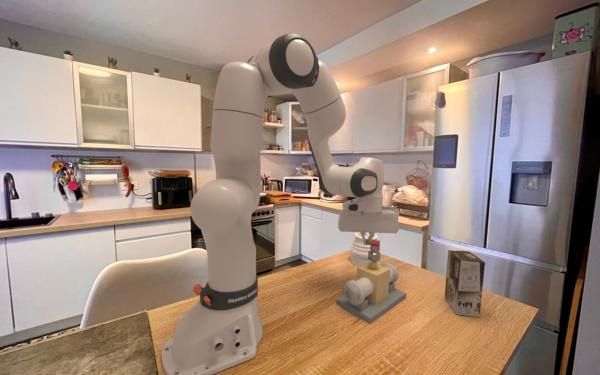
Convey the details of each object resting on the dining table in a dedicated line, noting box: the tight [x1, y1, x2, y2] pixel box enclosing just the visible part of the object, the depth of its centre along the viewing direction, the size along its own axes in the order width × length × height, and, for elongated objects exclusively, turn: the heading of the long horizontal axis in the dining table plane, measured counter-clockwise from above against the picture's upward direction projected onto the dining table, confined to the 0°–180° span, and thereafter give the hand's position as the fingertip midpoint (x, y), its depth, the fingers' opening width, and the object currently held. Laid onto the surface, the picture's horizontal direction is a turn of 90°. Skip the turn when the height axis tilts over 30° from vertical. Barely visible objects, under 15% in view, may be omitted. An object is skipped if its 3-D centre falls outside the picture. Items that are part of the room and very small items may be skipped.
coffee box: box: [444, 249, 486, 318], centre depth 72 cm, size 9×6×16 cm
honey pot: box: [349, 232, 382, 267], centre depth 105 cm, size 13×13×18 cm
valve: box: [335, 261, 407, 325], centre depth 75 cm, size 20×12×13 cm, turn 130°
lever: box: [368, 239, 381, 261], centre depth 79 cm, size 14×4×2 cm, turn 161°
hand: (366, 244), depth 84 cm, fingers closed
